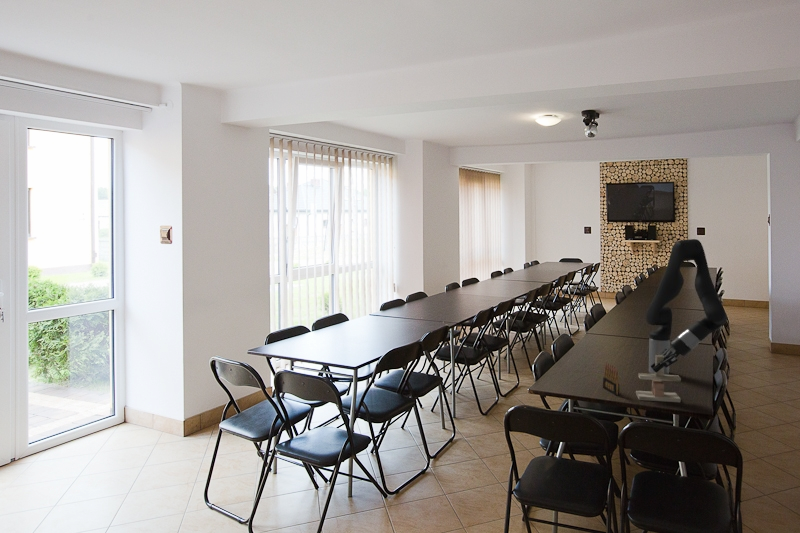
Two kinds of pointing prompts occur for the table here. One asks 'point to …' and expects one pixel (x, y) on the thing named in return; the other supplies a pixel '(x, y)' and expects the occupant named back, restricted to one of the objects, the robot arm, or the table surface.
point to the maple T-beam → (659, 373)
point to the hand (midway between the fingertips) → (653, 369)
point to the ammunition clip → (611, 379)
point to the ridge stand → (658, 393)
